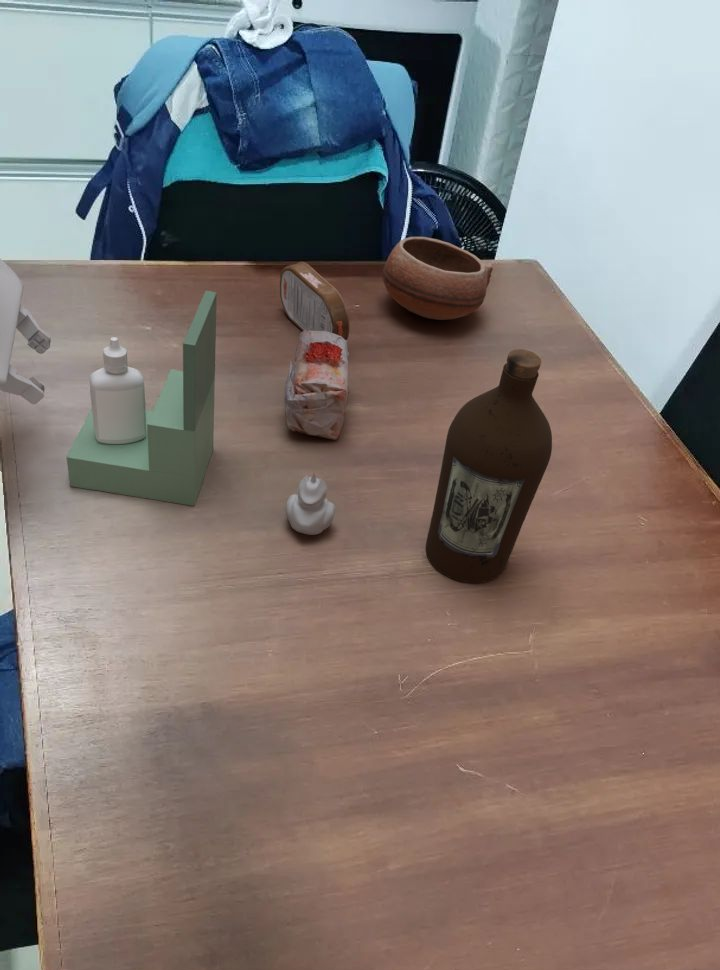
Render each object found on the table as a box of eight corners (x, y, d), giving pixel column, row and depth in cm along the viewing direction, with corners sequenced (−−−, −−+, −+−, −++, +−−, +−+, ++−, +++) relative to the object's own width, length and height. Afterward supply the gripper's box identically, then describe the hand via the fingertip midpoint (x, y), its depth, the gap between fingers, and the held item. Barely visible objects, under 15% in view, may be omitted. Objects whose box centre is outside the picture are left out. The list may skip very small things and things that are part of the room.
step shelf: (69, 486, 102) (49, 320, 87) (97, 430, 110) (83, 269, 95) (194, 506, 103) (195, 345, 88) (213, 449, 110) (216, 292, 96)
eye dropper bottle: (138, 451, 101) (134, 354, 93) (89, 441, 101) (79, 343, 93) (150, 430, 104) (147, 334, 96) (102, 420, 104) (94, 323, 96)
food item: (345, 447, 114) (355, 378, 107) (281, 441, 113) (287, 371, 106) (344, 387, 123) (353, 320, 116) (285, 381, 122) (291, 312, 115)
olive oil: (434, 513, 108) (484, 316, 89) (520, 542, 106) (589, 348, 88) (407, 568, 100) (456, 367, 82) (499, 600, 99) (569, 402, 81)
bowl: (498, 319, 142) (514, 256, 135) (437, 350, 133) (451, 285, 126) (420, 278, 148) (432, 216, 141) (357, 305, 139) (366, 240, 132)
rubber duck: (278, 537, 101) (283, 479, 95) (292, 501, 106) (298, 444, 100) (325, 548, 101) (334, 491, 95) (338, 512, 105) (346, 455, 100)
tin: (347, 357, 129) (355, 300, 122) (328, 361, 127) (335, 304, 121) (292, 306, 136) (296, 250, 130) (273, 309, 135) (277, 253, 129)
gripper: (-73, 312, 79) (57, 411, 88) (-42, 208, 92) (69, 304, 102) (-116, 356, 81) (15, 448, 91) (-79, 248, 95) (32, 338, 104)
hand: (43, 371), depth 96 cm, fingers open, 8 cm apart
